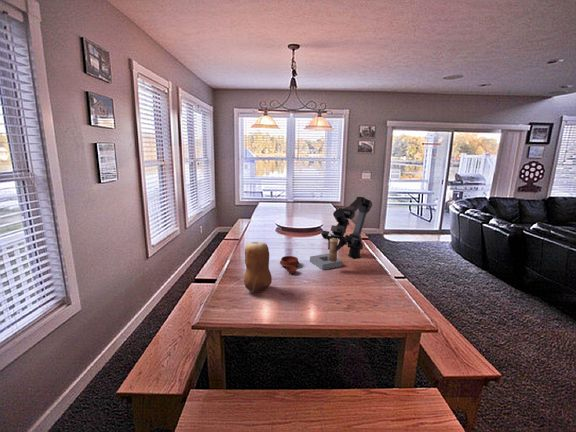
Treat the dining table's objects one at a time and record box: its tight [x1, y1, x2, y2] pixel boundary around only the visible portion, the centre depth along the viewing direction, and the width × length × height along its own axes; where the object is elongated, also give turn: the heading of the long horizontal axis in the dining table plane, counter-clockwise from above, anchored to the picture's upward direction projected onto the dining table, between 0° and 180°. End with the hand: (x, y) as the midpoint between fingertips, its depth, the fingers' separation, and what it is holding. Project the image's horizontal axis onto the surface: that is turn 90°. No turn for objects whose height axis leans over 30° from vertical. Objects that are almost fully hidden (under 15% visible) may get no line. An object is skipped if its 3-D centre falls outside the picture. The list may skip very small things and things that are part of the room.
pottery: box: [279, 255, 300, 275], centre depth 173 cm, size 12×20×4 cm, turn 5°
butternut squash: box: [243, 241, 273, 293], centre depth 142 cm, size 14×13×25 cm
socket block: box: [309, 253, 343, 271], centre depth 180 cm, size 14×14×4 cm
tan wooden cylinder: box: [328, 238, 339, 262], centre depth 167 cm, size 5×5×12 cm
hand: (332, 250), depth 166 cm, fingers closed on tan wooden cylinder, 4 cm apart
